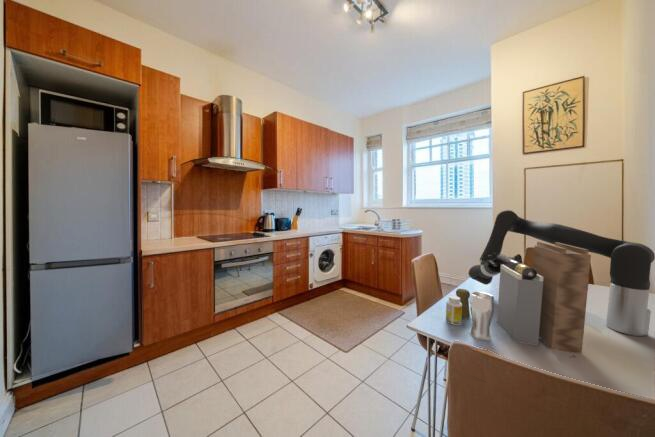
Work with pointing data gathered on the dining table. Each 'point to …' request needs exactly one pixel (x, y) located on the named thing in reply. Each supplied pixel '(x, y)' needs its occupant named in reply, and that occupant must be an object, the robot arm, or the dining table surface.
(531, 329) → the grey magazine holder
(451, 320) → the supplement bottle
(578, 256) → the tall stand
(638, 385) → the dining table surface
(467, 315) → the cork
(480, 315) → the beer glass
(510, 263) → the black gold-banded rod
